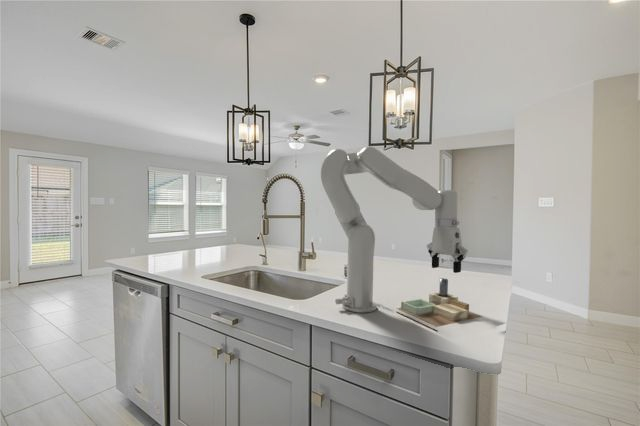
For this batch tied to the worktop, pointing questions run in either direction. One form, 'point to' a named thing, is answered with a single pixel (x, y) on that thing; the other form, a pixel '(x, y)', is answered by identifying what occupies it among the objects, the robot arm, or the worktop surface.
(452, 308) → the beige cardboard box
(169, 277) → the worktop surface
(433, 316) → the board
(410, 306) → the tray
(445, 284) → the dowel
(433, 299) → the holder
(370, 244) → the robot arm
